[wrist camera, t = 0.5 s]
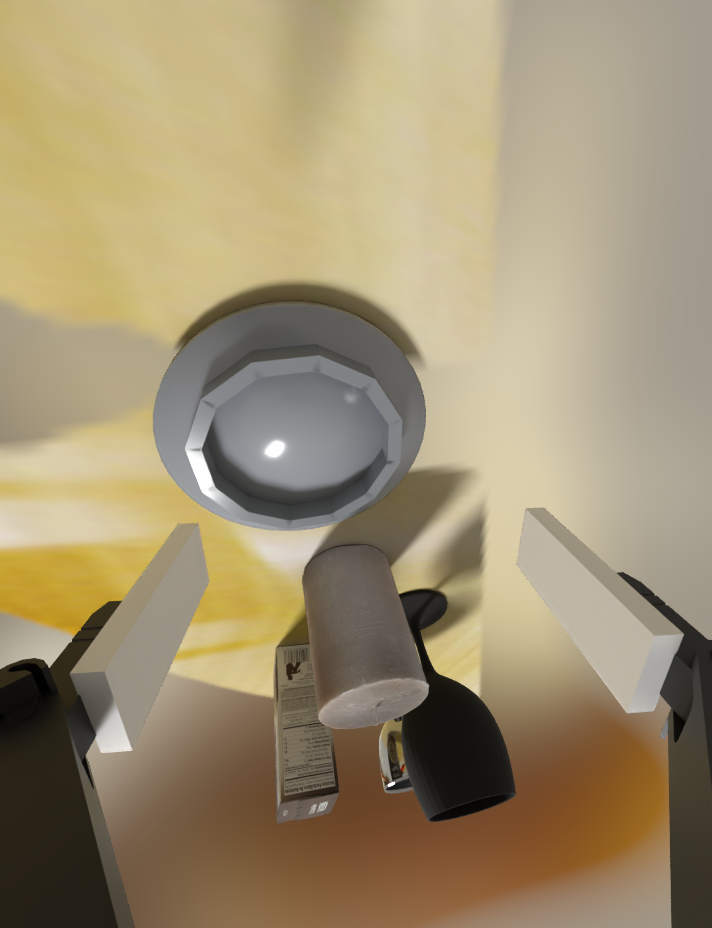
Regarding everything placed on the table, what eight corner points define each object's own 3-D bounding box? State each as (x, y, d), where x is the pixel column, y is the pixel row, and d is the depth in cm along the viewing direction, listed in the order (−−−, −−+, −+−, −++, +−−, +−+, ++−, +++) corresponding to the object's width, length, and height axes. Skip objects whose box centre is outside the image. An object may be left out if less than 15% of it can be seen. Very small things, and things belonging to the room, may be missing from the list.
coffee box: (316, 671, 57) (331, 814, 45) (272, 677, 55) (275, 826, 43) (323, 641, 51) (342, 794, 39) (274, 646, 50) (278, 807, 38)
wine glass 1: (367, 652, 56) (394, 780, 45) (416, 647, 58) (454, 768, 47) (356, 676, 61) (377, 797, 49) (402, 671, 63) (433, 785, 52)
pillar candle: (338, 605, 46) (365, 751, 35) (283, 575, 41) (293, 740, 29) (403, 566, 44) (455, 710, 33) (355, 528, 38) (397, 688, 27)
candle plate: (103, 316, 22) (86, 334, 20) (433, 287, 24) (450, 300, 22) (202, 538, 35) (199, 563, 33) (413, 504, 37) (422, 525, 35)
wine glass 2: (452, 583, 48) (538, 781, 33) (441, 624, 55) (510, 804, 40) (372, 598, 47) (424, 812, 32) (371, 638, 54) (414, 830, 38)
